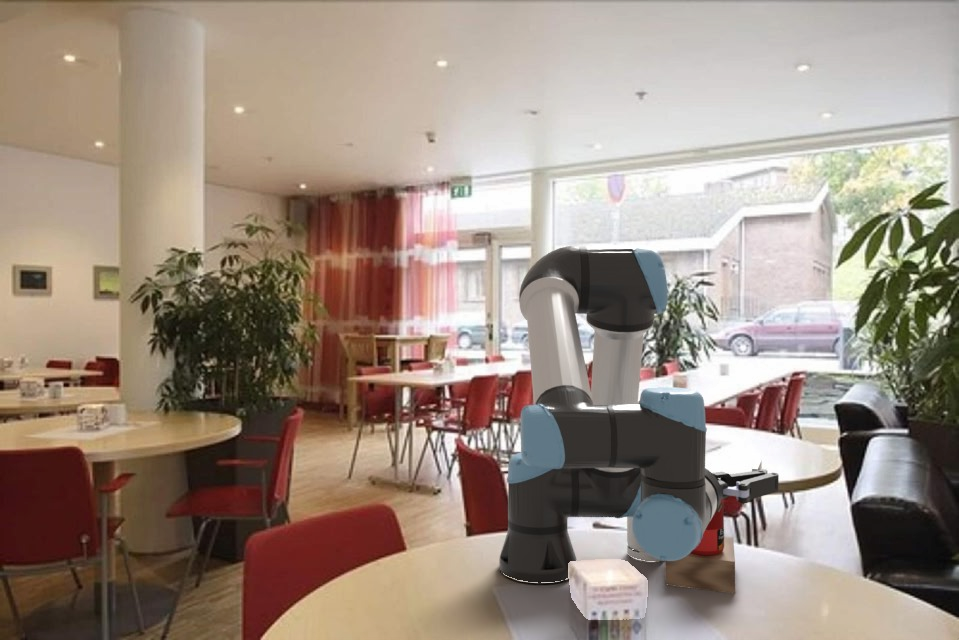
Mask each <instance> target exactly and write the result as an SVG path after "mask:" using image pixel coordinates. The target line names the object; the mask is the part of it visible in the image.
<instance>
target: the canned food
mask: <svg viewBox="0 0 959 640" xmlns="http://www.w3.org/2000/svg"><path fill="white" fill-rule="evenodd" d="M724 516H725V514H724V499H722V500H721V503H720V505H719V507H718V509H717V510H716V512H715V514H714V515H713V517H712V519H711V521H710V522H709V524H708V526H707V528H706V529H705V531H704V533H703V537H702V539H701V542H700V543H699V544H698V546H696V548H695V549H694V550H692V551H691V554H696V555H704V556H711V555H717V554H720V553H722V552H723V549H724V537H725V527H724V526H725V520H724V519H725V518H724Z"/></svg>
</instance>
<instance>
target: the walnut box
mask: <svg viewBox="0 0 959 640" xmlns="http://www.w3.org/2000/svg"><path fill="white" fill-rule="evenodd" d="M734 544H735V542H734V537H729V536H724V549H723V552H722V553H720V554H717V555H711V556H704V555H696V554H691V553H690V554H688V555H687V556H686V557H684V558H682V559H679V560H676V561H664V562H665V563H664V566H665V571H664V572H665V574H664V575H665V577H664V578H665V579H664V580H665V585H666V584H668V585H667V586H672V585H675V586H674V587H680V586H682V587H681V588H688V587H690V589H696V588H697V589H698V590H705V591H713V592H718V593H719V592H720V593H721V592H722V593H728V594H736V558H735V545H734ZM697 589H696V590H697Z"/></svg>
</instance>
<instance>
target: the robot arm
mask: <svg viewBox="0 0 959 640" xmlns="http://www.w3.org/2000/svg"><path fill="white" fill-rule="evenodd" d="M662 259H663V258H662V257H661V255H660V253H659V251H658V250H657V249H655V248H654V247H652V246H647V245H646V246H645V245H644V246H643V245H642V246H641V245H633V244H628V245H627V244H626V245H625V244H624V245H622V244H621V245H620V244H618V245H587V246H586V245H585V246H583V245H581V246H580V245H579V246H578V245H569V246H564V247H563V246H562V247H558V248H557V249H554V250H552V251H549V252H548V253H547V254H546V255H544V256H542V257H541V258H539V259H538V260H537V261H536V262H535V263H534V264H533V265H532V266H531V267H530V268H529V270H528V271H527V272H526V274H525V276H524V278H523V279H522V283H521V285H520V288H519V296H518V297H519V298H518V301H519V310H520V313H521V314H522V317H523V318H524V319H525V320H526V321H527V334H528V346H529V348H528V349H529V359H530V369H531V370H530V372H531V373H530V374H531V382H532V383H531V384H532V395H533V396H532V397H533V404H532V405H531V404H530V405H525V406H523V408H522V409H521V411H520V451H519V452H518V453H515V454H514V455H513V456H512V457H510V459H509V461H508V467H507V477H506V482H507V484H508V485H507V490H508V491H507V494H508V495H507V496H508V497H507V502H508V503H507V525H508V526H507V533H506V536H505V540H504V541H503V542H504V543H503V544H502V549H501V551H500V555H499V560H498V561H499V562H498V563H499V568H500V569H499V571H500V570H501V572H502V573H504V574H505V575H507V576H509V577H512V578H515V579H517V580H523V581H528V582H538V583H541V582H555V581H561V580H565V579H566V578H568V563H569V562H570V561H576V560H577V557H576V553H575V551H574V548H573V547H574V546H573V543H572V541H571V538H570V535H569V531H568V518H615V519H623V518H627V517H633V522H632V526H633V533H634V536H635V538H636V540H637V542H638V544H639V545H640V546H641V548H642V549H643V550H644V551H645V552H647V553H648V554H649V555H651V556H653V557H654V558H657V559H660V560H663V561H662V562H665V561H676V560H679V559H682V558H684V557H686V556H687V555H688V554H690V553H691V551H692V550H694V549H695V548H696V546H698V544H699V543H700V542H701V539H702V537H703V533H704V531H705V529H706V528H707V526H708V524H709V522H710V521H711V519H712V517H713V515H714V514H715V512H716V510H717V509H718V507H719V505H720V503H721V500H722V499H723V500H725V499H726V498H729V497H730V496H731V497H736V498H735V499H736V500H737V503H740V504H748V503H749V502H750V501H751V500H755V499H757V498H760V497H764V496H768V495H770V494H773V493H778V492H779V487H780V486H779V479H780V478H779V473H777V472H769V473H768V470H767V468H766V469H765V468H762V464H763V462H762V459H755V462H754V464H753V465H752V467H751V471H745V472H737V473H727V472H725V471H724V472H723V471H719V472H711V471H710V470H709V469H707V468H706V447H707V446H706V444H707V443H706V441H707V440H706V438H707V437H706V436H707V430H708V428H707V426H706V425H707V424H706V423H707V422H706V409H705V401H704V397H703V396H702V394H701V393H699V391H697V390H695V389H691V388H686V387H685V388H684V387H675V386H672V387H669V386H665V387H664V386H661V387H660V386H659V387H648V388H645V389H643V390H642V391H641V393H640V396H639V392H640V379H641V369H642V360H643V359H642V356H643V345H644V335H645V333H647V332H648V331H649V330H650V329H652V328H653V326H654V321H655V315H657V316H658V315H661V314H663V313H665V312H666V310H667V307H668V299H669V298H668V295H669V294H668V282H667V281H668V280H667V275H666V271H665V265H664V261H663V260H662ZM576 314H577V315H580V314H581V315H584V314H585V315H586V317H585V319H586V323H587V324H588V325H589V326H590V328H592V329H593V330H594V333H593V335H594V336H593V350H592V352H593V353H592V368H591V369H592V370H591V371H592V372H591V387H590V382H589V376H588V372H587V367H586V361H585V357H584V352H583V345H582V341H581V336H580V335H581V334H580V331H579V325H578V322H577V316H576ZM639 397H640V398H639ZM501 572H500V573H501ZM502 573H501V574H502Z"/></svg>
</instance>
